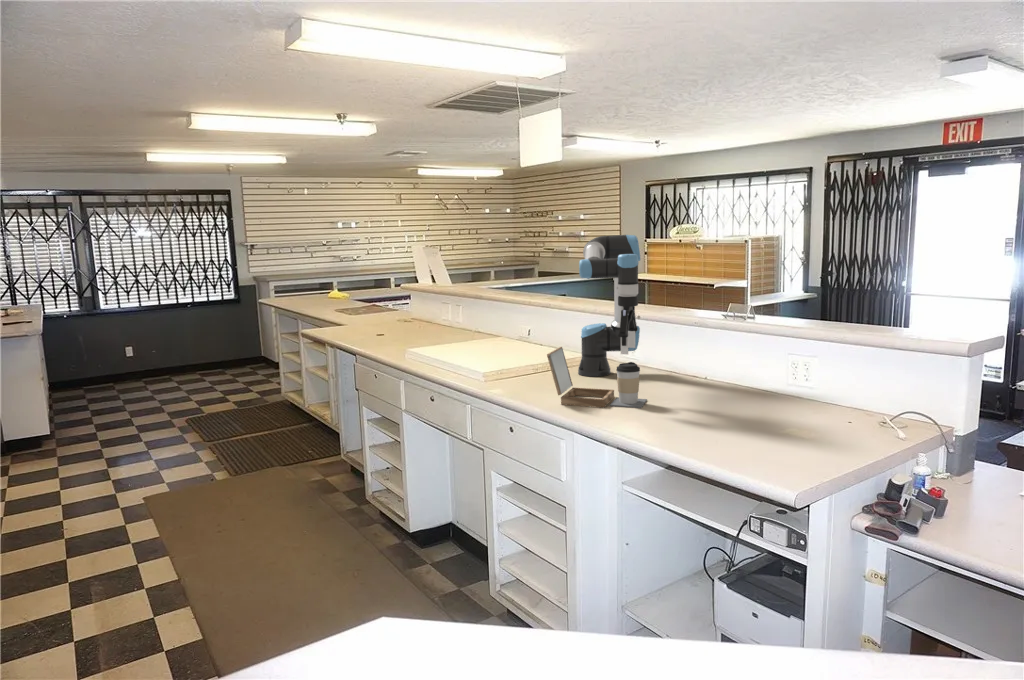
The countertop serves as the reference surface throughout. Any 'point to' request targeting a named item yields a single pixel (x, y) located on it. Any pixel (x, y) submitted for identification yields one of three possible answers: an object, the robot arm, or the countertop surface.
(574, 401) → the tray
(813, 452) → the countertop surface
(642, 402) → the mat
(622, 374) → the coffee cup
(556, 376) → the lid
